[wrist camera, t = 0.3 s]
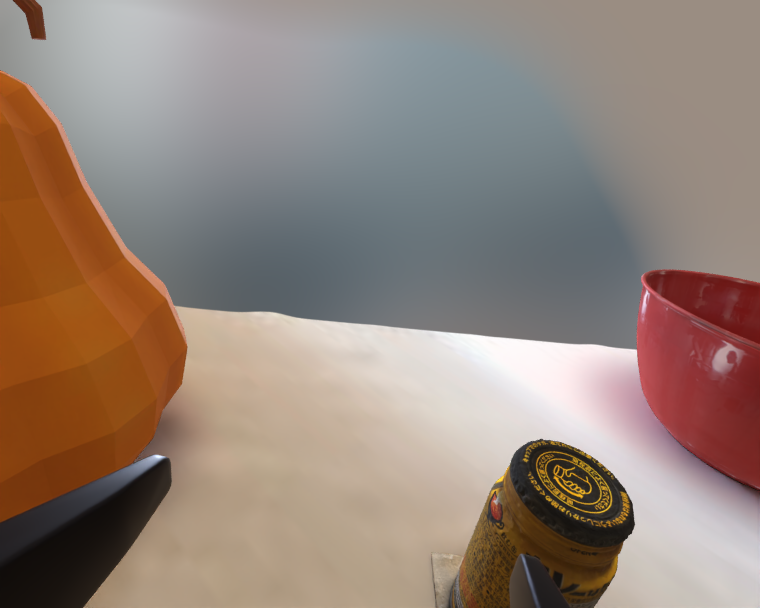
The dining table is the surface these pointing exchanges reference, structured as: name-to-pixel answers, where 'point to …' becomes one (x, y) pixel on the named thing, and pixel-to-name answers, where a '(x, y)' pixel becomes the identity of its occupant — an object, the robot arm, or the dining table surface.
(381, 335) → the dining table surface
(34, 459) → the decorative pumpkin
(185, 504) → the dining table surface
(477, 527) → the condiment
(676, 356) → the mixing bowl
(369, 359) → the dining table surface
